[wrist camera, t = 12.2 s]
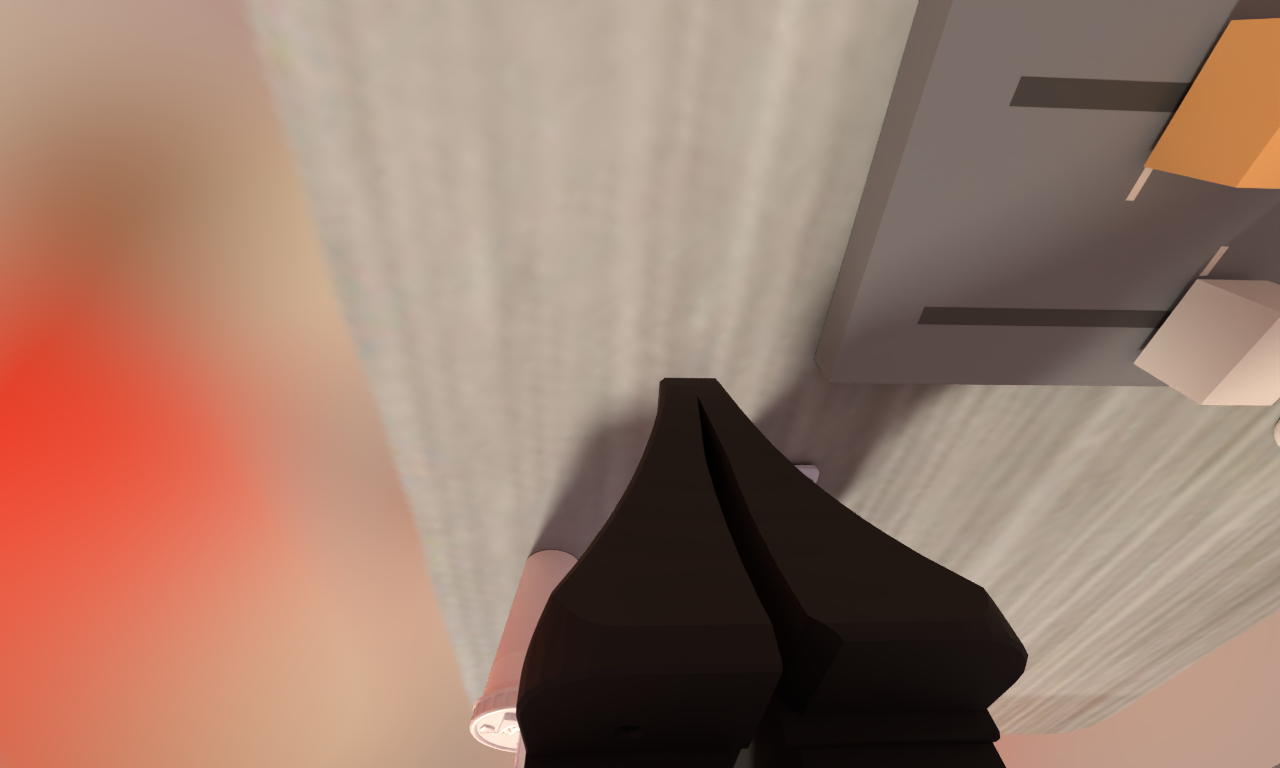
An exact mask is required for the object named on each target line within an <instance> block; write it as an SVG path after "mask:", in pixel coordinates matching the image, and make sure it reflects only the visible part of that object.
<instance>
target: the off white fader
mask: <svg viewBox="0 0 1280 768" xmlns="http://www.w3.org/2000/svg"><path fill="white" fill-rule="evenodd" d="M1133 364H1135V365H1136V366H1138V367H1140V368H1141V369H1143V370H1144V371H1146V372H1148V373H1149V374H1151V375H1153V376H1154V377H1156V378H1157V379H1159V380H1161V381H1162V382H1164V383H1166V384H1167V385H1169V386H1170V387H1172V388H1174V389H1175V390H1177V391H1179V392H1180V393H1182V394H1183V395H1185V396H1187V397H1188V398H1190V399H1192V400H1193V401H1195V402H1196V403H1198V404H1200V405H1272V404H1273V403H1274V402H1275V401H1276V400H1277V399H1278V398H1279V397H1280V285H1279V284H1276V283H1273V282H1270V281H1263V280H1214V279H1197V280H1196V281H1195V283H1194V284H1193V285H1192V287H1191V288H1190V289H1189V291H1188V292H1187V293H1186V295H1185V296H1184V297H1183V299H1182V300H1181V301H1180V302H1179V304H1178V305H1177V306H1176V308H1175V309H1174V310H1173V312H1172V313H1171V314H1170V316H1169V317H1168V318H1167V320H1166V321H1165V322H1164V324H1163V325H1162V326H1161V328H1160V329H1159V330H1158V332H1157V333H1156V334H1155V335H1154V337H1153V338H1152V339H1151V341H1150V342H1149V343H1148V345H1147V346H1146V347H1145V349H1144V350H1143V351H1142V353H1141V354H1140V355H1139V357H1138V358H1137V359H1136V361H1135V362H1134V363H1133Z"/></svg>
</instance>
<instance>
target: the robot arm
mask: <svg viewBox="0 0 1280 768" xmlns="http://www.w3.org/2000/svg"><path fill="white" fill-rule="evenodd" d="M818 477H819V471H818V469H817V467H816V466H814V465H793V464H792V463H791V462H790V461H789V460H788V459H787V458H786V457H785V456H784V455H783V454H782V453H781V452H779V451H778V450H777V449H776V448H775V447H774V446H773V445H772V444H771V442H770V441H769V440H768V439H767V438H766V437H765V436H764V435H763V434H762V433H761V432H760V431H759V430H758V428H757V427H756V426H755V425H754V424H753V423H752V422H751V421H750V420H749V418H748V417H747V416H746V415H745V414H744V413H743V411H742V410H741V409H740V408H739V407H738V405H737V404H736V403H735V402H734V400H733V399H732V398H731V397H730V395H729V394H728V393H727V392H726V390H725V389H724V388H723V387H722V385H721V384H720V383H719V382H718V381H717V380H716V379H715V378H664V379H663V380H661V381H660V385H659V399H658V412H657V416H656V419H655V423H654V426H653V430H652V433H651V436H650V438H649V441H648V443H647V446H646V448H645V451H644V454H643V456H642V458H641V461H640V463H639V465H638V467H637V469H636V471H635V474H634V476H633V477H632V479H631V481H630V483H629V485H628V487H627V489H626V491H625V492H624V494H623V496H622V498H621V499H620V501H619V503H618V504H617V506H616V508H615V509H614V511H613V513H612V514H611V516H610V517H609V519H608V520H607V522H606V523H605V525H604V526H603V528H602V529H601V530H600V532H599V533H598V535H597V536H596V537H595V539H594V540H593V542H592V543H591V544H590V546H589V547H588V549H587V550H586V551H585V553H584V554H583V555H582V556H581V558H580V559H579V560H578V561H577V563H576V564H575V565H574V566H573V567H572V569H571V570H570V571H569V572H568V573H567V574H566V576H565V577H564V578H563V579H562V580H561V582H560V583H559V584H558V585H557V586H556V587H555V589H554V590H553V591H552V592H551V594H550V597H549V599H548V601H547V603H546V605H545V607H544V610H543V612H542V614H541V616H540V618H539V621H538V623H537V626H536V628H535V630H534V633H533V635H532V638H531V641H530V644H529V646H528V649H527V653H526V656H525V659H524V663H523V667H522V671H521V677H520V683H519V690H518V697H517V704H516V718H517V722H518V725H519V729H520V732H521V736H522V739H523V743H524V746H525V750H526V755H525V763H524V768H1006V767H1005V765H1004V763H1003V761H1002V759H1001V757H1000V755H999V753H998V752H997V750H996V748H995V746H994V744H993V742H996V741H997V740H999V739H1000V732H999V730H998V728H997V726H996V724H995V723H994V721H993V719H992V717H991V715H990V714H989V712H988V710H987V708H988V707H989V706H990V705H991V704H992V703H994V702H995V701H996V700H997V699H998V698H999V697H1000V696H1001V695H1002V694H1003V693H1004V692H1006V691H1007V690H1008V689H1009V688H1010V687H1011V686H1012V685H1013V684H1014V683H1015V682H1016V681H1017V680H1018V679H1019V677H1020V676H1021V675H1022V674H1023V673H1024V670H1025V667H1026V663H1027V658H1028V654H1027V652H1026V650H1025V648H1024V646H1023V644H1022V643H1021V641H1020V640H1019V638H1018V637H1017V635H1016V634H1015V632H1014V631H1013V629H1012V628H1011V626H1010V625H1009V623H1008V622H1007V620H1006V619H1005V617H1004V616H1003V614H1002V613H1001V611H1000V610H999V608H998V607H997V606H996V604H995V603H994V601H993V600H992V598H991V597H990V596H989V595H988V593H987V592H986V591H985V589H984V588H983V587H981V586H979V585H977V584H975V583H973V582H971V581H970V580H968V579H966V578H964V577H962V576H960V575H958V574H956V573H954V572H953V571H951V570H949V569H947V568H945V567H943V566H941V565H939V564H937V563H935V562H934V561H932V560H930V559H928V558H926V557H924V556H922V555H921V554H919V553H917V552H915V551H914V550H912V549H910V548H909V547H907V546H906V545H904V544H902V543H901V542H899V541H897V540H896V539H894V538H892V537H891V536H889V535H887V534H886V533H884V532H883V531H881V530H879V529H878V528H876V527H875V526H873V525H872V524H870V523H869V522H867V521H866V520H864V519H863V518H861V517H860V516H858V515H857V514H856V513H854V512H853V511H851V510H850V509H849V508H847V507H846V506H844V505H843V504H841V503H840V502H839V501H837V500H836V499H835V498H833V497H832V496H831V495H829V494H828V493H827V492H825V491H824V490H823V489H822V488H820V487H819V486H818V485H817V484H816V483H817V480H818ZM1272 768H1280V764H1278V765H1276V766H1274V767H1272Z"/></svg>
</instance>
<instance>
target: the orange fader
mask: <svg viewBox="0 0 1280 768" xmlns="http://www.w3.org/2000/svg"><path fill="white" fill-rule="evenodd" d="M1143 167H1147V168H1151V169H1156V170H1160V171H1165V172H1169V173H1174V174H1178V175H1182V176H1187V177H1191V178H1196V179H1200V180H1205V181H1209V182H1213V183H1218V184H1222V185H1227V186H1231V187H1236V188H1267V189H1280V18H1269V19H1248V20H1231V22H1230V23H1229V25H1228V27H1227V28H1226V30H1225V32H1224V33H1223V35H1222V37H1221V38H1220V40H1219V42H1218V43H1217V45H1216V47H1215V48H1214V50H1213V52H1212V53H1211V55H1210V57H1209V58H1208V60H1207V62H1206V63H1205V65H1204V67H1203V68H1202V70H1201V72H1200V73H1199V75H1198V77H1197V78H1196V80H1195V82H1194V83H1193V85H1192V87H1191V88H1190V90H1189V92H1188V93H1187V95H1186V97H1185V98H1184V100H1183V102H1182V103H1181V105H1180V107H1179V108H1178V110H1177V111H1176V113H1175V115H1174V116H1173V118H1172V120H1171V121H1170V123H1169V125H1168V126H1167V128H1166V130H1165V131H1164V133H1163V135H1162V136H1161V138H1160V140H1159V141H1158V143H1157V145H1156V146H1155V148H1154V150H1153V151H1152V153H1151V155H1150V156H1149V158H1148V160H1147V161H1146V163H1145V165H1144V166H1143Z"/></svg>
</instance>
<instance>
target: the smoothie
mask: <svg viewBox="0 0 1280 768" xmlns="http://www.w3.org/2000/svg"><path fill="white" fill-rule="evenodd" d="M577 561H578V560H577V559H576V558H575V557H574V556H572V555H571V554H569V553H566V552H563V551H558V550H544V551H540V552H537V553H535V554H533V555H531V556H530V557H529V558H528V559H527V561H526V564H525V567H524V570H523V573H522V576H521V579H520V582H519V586H518V589H517V592H516V595H515V598H514V601H513V604H512V607H511V610H510V613H509V616H508V619H507V622H506V625H505V628H504V632H503V635H502V638H501V641H500V644H499V647H498V650H497V653H496V656H495V659H494V662H493V665H492V668H491V671H490V674H489V677H488V681H487V684H486V687H485V690H484V693H483V696H482V697H480V698H479V699H478V700H477V701H476V702H475V704H474V705H473V714H472V719H471V723H470V731H471V734H472V735H473V736H474V737H475V738H476V739H477V740H478V741H480V742H481V743H483V744H485V745H487V746H489V747H492V748H496V749H499V750H504V751H508V752H516V759H515V766H514V768H524V763H525V755H526V750H525V746H524V743H523V739H522V736H521V732H520V729H519V725H518V722H517V718H516V704H517V697H518V690H519V683H520V677H521V671H522V667H523V663H524V659H525V656H526V653H527V649H528V646H529V644H530V641H531V638H532V635H533V633H534V630H535V628H536V626H537V623H538V621H539V618H540V616H541V614H542V612H543V610H544V607H545V605H546V603H547V601H548V599H549V597H550V594H551V592H552V591H553V590H554V589H555V587H556V586H557V585H558V584H559V583H560V582H561V580H562V579H563V578H564V577H565V576H566V574H567V573H568V572H569V571H570V570H571V569H572V567H573V566H574V565H575V564H576V563H577Z"/></svg>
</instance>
